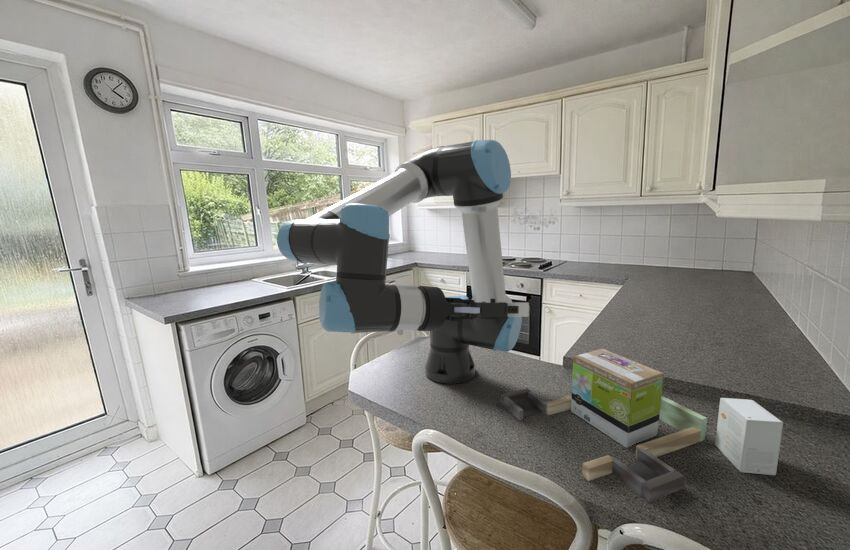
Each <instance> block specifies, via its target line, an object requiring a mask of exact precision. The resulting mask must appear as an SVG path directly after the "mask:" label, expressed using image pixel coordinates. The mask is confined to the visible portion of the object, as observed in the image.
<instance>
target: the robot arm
mask: <svg viewBox="0 0 850 550" xmlns="http://www.w3.org/2000/svg"><path fill="white" fill-rule="evenodd" d="M511 177H512V171H511V163H510V161H509V156H508V154H507V151H506V150H505V148H504V147H503V145H502V144H501V143H500V142H498V141H497V140H493V139H476V140H473V141H468V142H463V143H456V144H449V145H441V146H437V147H434V148H431V149H428V150H426V151H424V152H422V153H420V154H418V155H416V156H413V157H412V158H411V159H408V160H406V161H405V162H402V163H401V164H398V166H397V167H396V168H395V170H394V172H393V173H392V174H389V175H388V176H386V177H383V178H382V179H380V180H378V181H376V182H374V183H372V184H371V185H369V186H366V187H365V188H362V189H361V190H360V191H358V192H356V193H353V194H352V195H349V196H348V197H346V198H344V199H342V200H340V201H339V202H337V203H334V204H333V205H331V206H328V207H326V208H325V209H323V210H321V211H319V212H317V213H315V214H313V215H311V216H308V217H307V218H305V219H302V218H295V219H293V220H289V221H286V222H285V223H284V224H282V225H281V227H280V228H279V229H278V232H277V236H276V244H277V247H278V249H279V252H280V253H281V255H282V256H283V257H285V258H286V259H287V260H289V261H292V262H297V263H302V264H314V265H315V264H316V265H317V264H319V265H327V266H328V265H332V266H336V277H335V278H336V279H335V281H334V280H333V281H331V282H330V281H329V282H325V283H324V284H323V285H322V287H321V289H320V296H319V301H318V302H319V303H318V306H319V307H318V314H319V317H318V318H319V322H320V326H321V327H322V328H323V330H324V331H326V332H331V333H350V334H360V333H380V332H381V333H382V332H383V333H384V332H389V333H390V332H396V335H398V336H402V335H403V334H404V331H405V332H415V331H419V332H429V347H430V348H429V352H428V355H427V357H426V361H425V365H424V370H425V371H424V372H425V376H426V378H427V379H429V380H431V381H433V382H436V383H441V384H447V385H448V384H449V385H450V384H459V383H460V384H461V383H465V382H467V381H470V380H471V379H473V378H474V377H475V375H476V365H475V361H474V358H473V355H472V353H471V349H470V346H473V347H478V348H481V349H482V348H483V349H487V350H491V351H493V352H496V351H497V352H503V353H508V352H510V351H511V350H512V349H513V348H514V347H515V345H516V343H517V341H518V339H519V337H520V333H521V328H522V322H523V318H525V317H526V318H528V317H529V316H530V315H529V313H530V303H529V302H520V301H519V302H516V301H515V302H513V301H512V299H511V297H509V296H508V295H506V286H505V276H504V265H503V255H502V253H503V252H502V243H501V232H500V224H499V223H500V221H499V212H498V211H499V210H498V207H499V205H500V203H501V202H502V201H503V200H504V193H506V192H507V191H508V190H509V188H510V186H511ZM450 196H451V197H452V199H453V206H454V207H455V208H457V209H458V210H459V211H460V212H461V217H462V218H461V219H462V227H463V228H462V229H463V233H464V242H465V250H466V256H467V263H468V273H469V279H470V287H471V288H470V289H471V295H472V298H471V299H469V297H468V296H466V295H450V296H445V293H444V292H443V290H442V289H441V288H440V287H438V286H431V285H430V286H425V285H424V286H423V285H419V286H417V285H413V284H412V285H411V284H410V285H409V284H408V285H407V284H386V280H387V268H388V259H389V258H388V255H389V244H390V243H389V242H390V237H391V235H390V217H391V216H392V215H395V213H397V212H399V211H400V210H402V209H403V208H405V207H406V206H407V205H409V204H411V203H412V204H417V203H420V202H421V201H423V200H425V199H427V198H433V197H434V198H435V197H450Z"/></svg>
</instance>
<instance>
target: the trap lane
mask: <svg viewBox="0 0 850 550" xmlns="http://www.w3.org/2000/svg"><path fill="white" fill-rule="evenodd" d="M500 404H501V406H502V407H504V408H505V409H506V411H508V412H509V413H510V414H511V415H512V416H513V417H515V419H517V420H518V421H523V420H524V418H525V417H526V418H527V417H530V416H534V415H538V414H541V413H542V414H543V415H547V416H552V415H555V414H560V413H563V412H567V411H571V395H570V396H569V395H568V396H566V397H561V398H557V399H553V400H550V401H545V400H544V399H543V398H541V397H540V396H539V395H537V394H536V392H533V391H532V390H530V389H529V388H524V389H519V390H515V391H510V392H506V393H502V394H500ZM659 421H662V422H664V423H665V424H667V425H669V426H671V427H672V428H674V429H676V430H678V431H676V432H673V433H670V434H668V435H664V436H661V437H658V438H654V439H652V440H649V441H646V442H644V443H643V442H642V443H639V444H636V445H635V453H634V455H635V456H634V457H635V458H636V461H637V462H635V463H633V464H630V465H626V464H624V463H623V462H621V461H620V460H619V459H617V458H616V457H615V456H611V455H609V454H607V455H603V456H601V457H598V458H595V459H591V460H589V461H585V462H583V463H582V470H581V471H582V472H581V476H582V477H583V478H584V479H585V480H586V481H588V482H590V481H593V480H597V479H598V478H602V477H605V476H607V475H610V474H613V475H614V476H615V477H616V478H617V479H619V480H620V481H621V482H623V483H624V484H625V485H626V486H628V487H629V488H630V489H631V490H633V491H634V492H635V493H636V494H637V495H639V496H640V497H641V498H643V499H644V501H646V502H647V503H652V502H654V501H657V500H658V499H661V498H663V497H666V496H668V495H671V494H675V493H676V492H678V491H681V490H683V489H684V481H685V475H683V474H682V473H680V471H678V470H676V469H675V468H674V467H672V466H670V465H669V464H667V463H666V462H664V461H663V460H661V459H659V457H660V456H663V455H667V454H669V453H672V452H675V451H678V450H680V449H681V450H682V449H683V448H687V447H689V446H692V445H694V444H698V443H700V442H703V441H705V440H706V431H707V422H708V418H707V417H706V416H704V415H702V414H700V413H698V412H696V411H694V410H692V409H691V408H688V407H686V406H683V405H682V404H681V403H680V404H679V403H677V402H676V401H673V400H671V399H670V398H668V397H665V396H663V395H662V396H661V406H660V416H659Z"/></svg>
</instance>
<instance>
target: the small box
mask: <svg viewBox="0 0 850 550" xmlns="http://www.w3.org/2000/svg"><path fill="white" fill-rule="evenodd" d="M718 407H719V408H718V415H717V425H716V435H715V441H714V442H715V443H714V445H715V447H717V448H718V449H719V451H720V452H721V453H722V454H723V455H724V456H725V457H726V458H727V460H729V461H730V463H732V465H734V467H735V468H736V469H737V470H738V471H739V472H740V473H744V474H745V473H746V474H759V475H767V476H776V475H777V470H778V469H777V468H778V465H779V464H778V462H779V457H780V456H779V455H780V449H781V442H782V435H783V434H782V433H783V429H784V428H783V426H784V421H782V420H780V419H779V418H778V417H776V416H775V415H774V414H772V413H771V412H769V411H768V410H767V409H765V408H764V407H763V406H761V405H760V404H759V403H757V402H756V401H755V400H753V399H745V398H732V397H731V398H730V397H729V398H728V397H721V398H719V406H718Z"/></svg>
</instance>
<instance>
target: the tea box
mask: <svg viewBox="0 0 850 550" xmlns="http://www.w3.org/2000/svg"><path fill="white" fill-rule="evenodd" d="M572 357H573V360H572V376H571V377H572V380H571V395H570V396H571V410H570V412H571V413H573V414H575V415H576V416H577V417H579V418H581V419H582V420H584V421H585V422H587V423H588V424H590V425H591V426H593V427H594V428H595V429H597V430H598V431H600V432H602V433H603V434H605V435H607V436H608V437H609V438H611V439H612V440H613V441H615V442H617V443H618V444H619V443H620V445H621V446H622V445H623V446H622V447H623V448H625V447H626V448H625V449H627V448H630V447H633V446H635V445H637V444H636V443H638V444H640V443H643V442H644V440H645V441H647V440H649V439H651V438H654V437H655V436H657V435H658V431H659V424H660V423H659V422H660V419H659V416H660V406H661V396H663V395H662V394H663V386H664V385H663V384H664V372H662V371H660V370H657V369H656V368H655V369H654V368H652V367H649V366H647V365H645V364H643V363H641V362H637V361H634V360H633V359H630V358H628V357H625V356H622V355H620V354H617V353H615V352H612V351H610V350H608V349H605V348H602V347H601V348H599V349H596V350H592V351H588V352H583V353H581V354H578V355H577V354H576V355H573V356H572ZM639 442H640V443H639ZM634 444H635V445H634ZM632 445H633V446H632Z"/></svg>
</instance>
